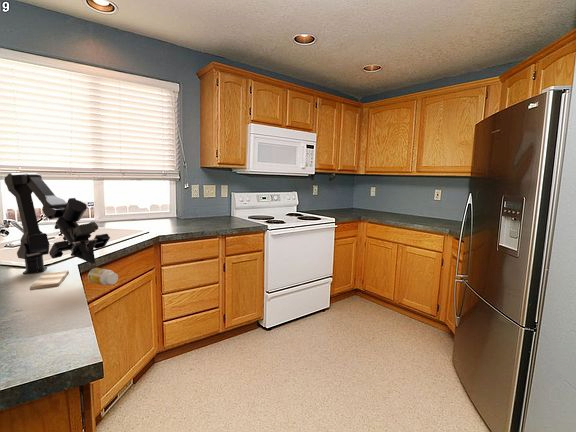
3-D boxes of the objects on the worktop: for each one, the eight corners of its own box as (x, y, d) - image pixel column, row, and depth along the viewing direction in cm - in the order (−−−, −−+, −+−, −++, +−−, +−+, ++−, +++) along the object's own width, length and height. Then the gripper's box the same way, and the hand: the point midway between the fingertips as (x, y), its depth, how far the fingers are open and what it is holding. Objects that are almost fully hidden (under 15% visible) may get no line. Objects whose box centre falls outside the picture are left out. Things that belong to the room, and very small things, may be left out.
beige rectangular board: (44, 275, 120) (43, 273, 119) (68, 272, 123) (68, 270, 123) (30, 289, 105) (29, 286, 105) (58, 285, 108) (58, 283, 108)
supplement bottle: (91, 265, 110) (110, 268, 106) (103, 270, 114) (122, 273, 111) (84, 280, 108) (103, 284, 104) (97, 284, 112) (116, 288, 109)
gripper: (50, 218, 101) (74, 255, 98) (104, 212, 118) (127, 243, 115) (39, 240, 105) (62, 276, 102) (93, 231, 122) (114, 261, 119)
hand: (93, 262), depth 109 cm, fingers closed
